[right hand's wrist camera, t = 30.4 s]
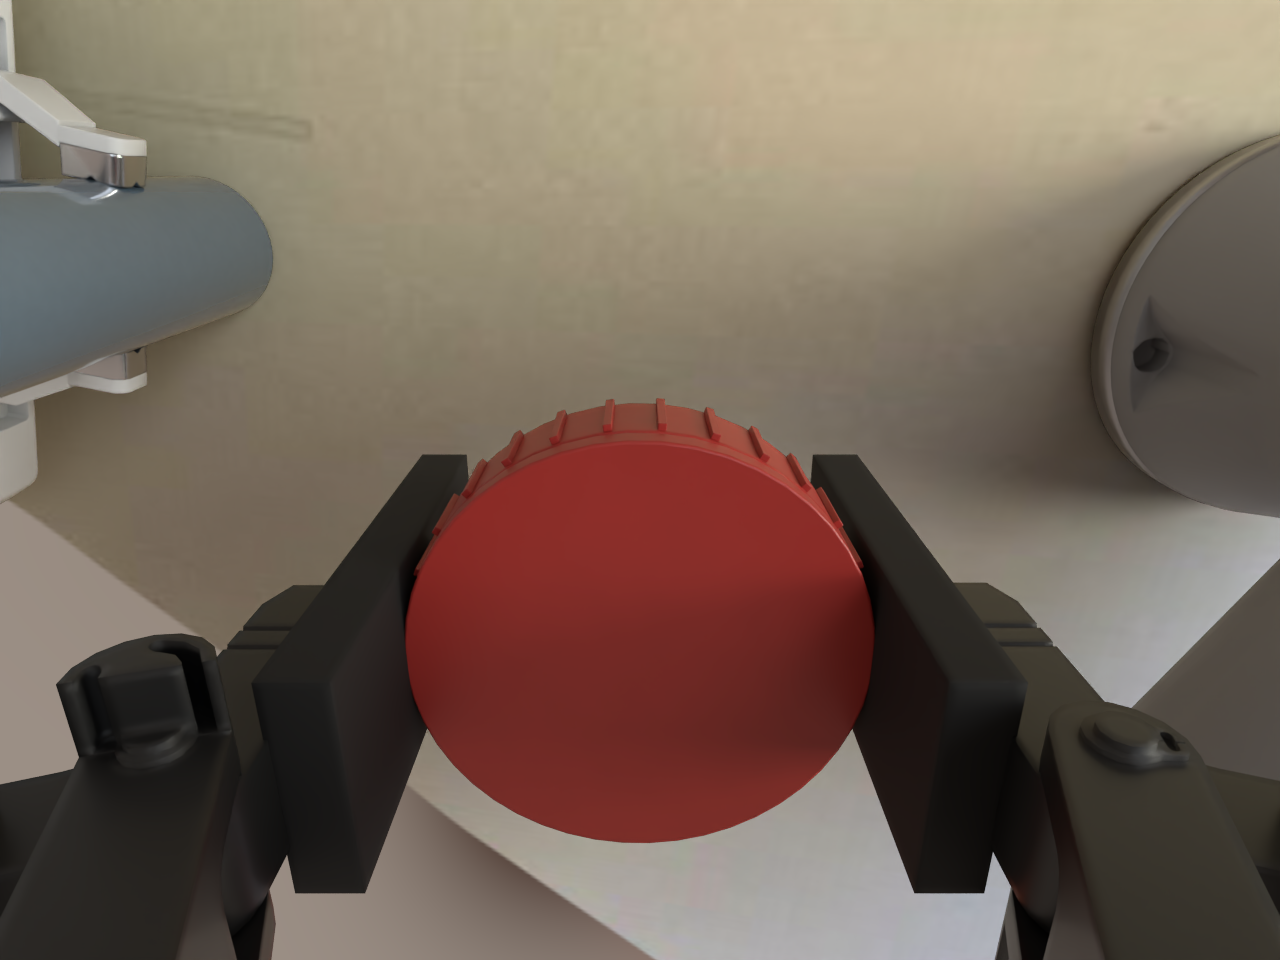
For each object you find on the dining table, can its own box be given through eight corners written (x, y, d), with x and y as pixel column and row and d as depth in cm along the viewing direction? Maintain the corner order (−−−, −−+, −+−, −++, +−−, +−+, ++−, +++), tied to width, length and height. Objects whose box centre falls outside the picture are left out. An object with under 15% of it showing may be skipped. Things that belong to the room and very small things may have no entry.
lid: (623, 298, 10) (621, 321, 9) (938, 587, 12) (983, 650, 10) (345, 610, 12) (301, 677, 10) (652, 828, 13) (653, 914, 12)
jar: (255, 336, 34) (-62, 476, 18) (124, 284, 33) (-321, 384, 18) (288, 210, 32) (-35, 250, 17) (150, 152, 31) (-322, 137, 16)
